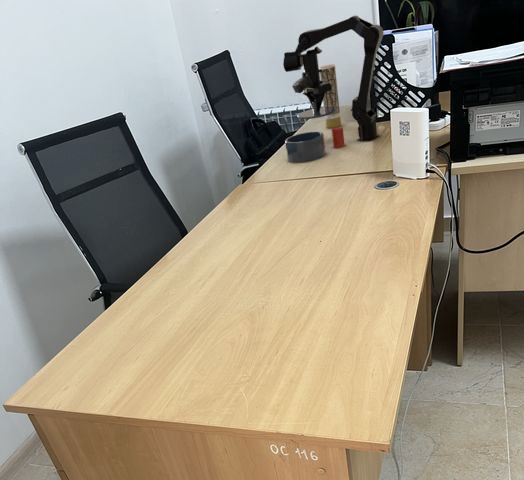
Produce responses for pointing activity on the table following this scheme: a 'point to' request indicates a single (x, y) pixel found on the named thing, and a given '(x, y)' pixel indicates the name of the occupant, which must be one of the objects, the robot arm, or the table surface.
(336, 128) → the cylinder
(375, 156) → the table surface
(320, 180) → the table surface
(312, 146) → the pot
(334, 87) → the paper tube
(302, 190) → the table surface
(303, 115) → the lid
